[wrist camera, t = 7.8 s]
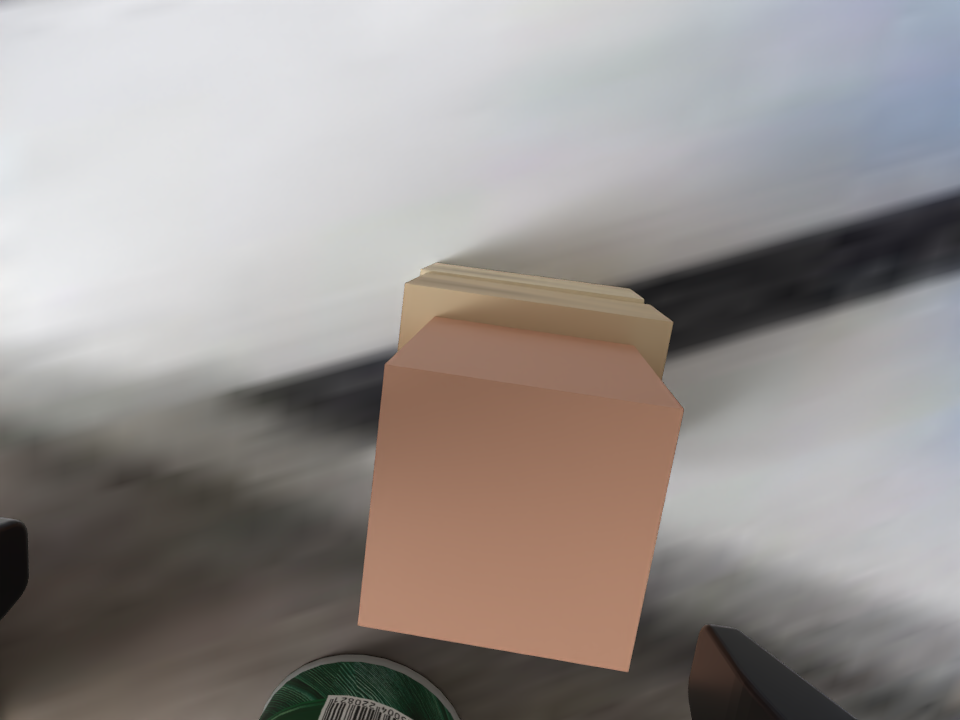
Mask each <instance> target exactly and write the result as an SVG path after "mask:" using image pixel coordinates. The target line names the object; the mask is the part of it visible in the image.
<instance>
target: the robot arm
mask: <svg viewBox="0 0 960 720" xmlns="http://www.w3.org/2000/svg"><path fill="white" fill-rule="evenodd" d="M28 578H29V564H28V533H27V528H26V526H25V524H24V523H22V522H21V521H20V520H16V519H10V518H3V517H0V621H1V619H2V618H3V617H4V616H5V615H6V613H7V612H8V611H9V610H10V609H11V608H12V606H13V605H14V604H15V603H16V602H17V600H18V599H19V598H20V597H21V595H22V594H23V592H24V590H25V588H26V586H27V583H28ZM688 697H689V705H690V711H691V717H692V720H857V719H856V718H855V717H853V716H852V715H851V714H849V713H848V712H847V711H845V710H844V709H843V708H841V707H840V706H839V705H837V704H836V703H835V702H833V701H832V700H831V699H829V698H828V697H827V696H825V695H824V694H823V693H822V692H820V691H819V690H818V689H816V688H815V687H814V686H812V685H811V684H810V683H808V682H807V681H806V680H804V679H803V678H802V677H800V676H799V675H798V674H796V673H795V672H794V671H792V670H791V669H790V668H788V667H787V666H786V665H784V664H783V663H782V662H781V661H779V660H778V659H777V658H775V657H774V656H773V655H771V654H770V653H769V652H767V651H766V650H765V649H763V648H762V647H761V646H759V645H758V644H757V643H755V642H754V641H753V640H751V639H750V638H749V637H747V636H746V635H745V634H743V633H742V632H741V631H740V630H738V629H736V628H733V627H726V626H719V625H713V624H706V625H704V626H703V627H702V629H701V631H700V633H699V636H698V641H697V645H696V650H695V654H694V659H693V664H692V668H691V673H690V677H689V685H688Z"/></svg>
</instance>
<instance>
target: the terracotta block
mask: <svg viewBox="0 0 960 720" xmlns="http://www.w3.org/2000/svg"><path fill="white" fill-rule="evenodd" d="M683 412H684V409H683V407H682V406H681V405H680V404H679V402H678V401H677V400H676V399H675V397H674V396H673V395H672V393H671V392H670V391H669V390H668V388H667V387H666V386H665V384H664V383H663V382H662V381H661V379H660V378H659V377H658V376H657V374H656V373H655V372H654V370H653V369H652V368H651V367H650V365H649V364H648V363H647V362H646V360H645V359H644V358H643V356H642V355H641V354H640V353H639V351H638V350H637V349H636V347H635V346H634V345H627V344H620V343H613V342H607V341H600V340H593V339H586V338H579V337H572V336H566V335H559V334H552V333H545V332H538V331H531V330H525V329H518V328H511V327H504V326H497V325H490V324H484V323H477V322H470V321H463V320H456V319H449V318H443V317H436V316H434V317H433V318H432V319H431V320H430V321H429V322H428V323H427V324H426V325H425V326H424V327H423V328H422V329H421V330H420V331H419V332H418V333H417V334H416V335H415V336H414V337H413V338H412V339H411V340H410V341H409V342H408V343H406V344H405V345H404V346H403V347H402V348H401V349H400V350H399V351H398V352H397V353H396V354H395V355H394V356H393V357H392V358H391V359H390V360H389V361H388V362H387V363H386V364H385V368H384V378H383V388H382V397H381V407H380V416H379V426H378V435H377V445H376V455H375V464H374V474H373V483H372V493H371V503H370V512H369V522H368V531H367V541H366V550H365V560H364V570H363V579H362V589H361V598H360V608H359V617H358V626H363V627H369V628H375V629H381V630H387V631H392V632H398V633H404V634H410V635H416V636H421V637H427V638H433V639H439V640H445V641H450V642H456V643H462V644H468V645H474V646H479V647H485V648H491V649H497V650H503V651H508V652H514V653H520V654H526V655H532V656H537V657H543V658H549V659H555V660H561V661H566V662H572V663H578V664H584V665H590V666H595V667H601V668H607V669H613V670H619V671H624V672H628V671H629V666H630V661H631V657H632V652H633V647H634V643H635V638H636V633H637V628H638V624H639V619H640V614H641V610H642V605H643V600H644V595H645V591H646V586H647V581H648V577H649V572H650V567H651V562H652V558H653V553H654V548H655V544H656V539H657V534H658V529H659V525H660V520H661V515H662V511H663V506H664V501H665V496H666V492H667V487H668V482H669V478H670V473H671V468H672V463H673V459H674V454H675V449H676V445H677V440H678V435H679V430H680V426H681V421H682V416H683Z"/></svg>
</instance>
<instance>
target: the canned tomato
mask: <svg viewBox="0 0 960 720" xmlns="http://www.w3.org/2000/svg"><path fill="white" fill-rule="evenodd" d="M259 720H460V719H459V717H458V715H457V713H456V711H455V709H454V707H453V706H452V705H451V703H450V702H449V701H448V700H447V698H446V697H445V696H444V695H443V694H442V692H441V691H440V690H439V689H438V688H436V687H435V686H434V685H433V684H432V683H430V682H429V681H428V680H427V679H426V678H425V677H423V676H421V675H420V674H418V673H416V672H414V671H413V670H411V669H409V668H408V667H406V666H403V665H401V664H398V663H395V662H392V661H390V660H387V659H383V658H378V657H373V656H368V655H338V656H332V657H326V658H322V659H319V660H317V661H314V662H311V663H309V664H306V665H304V666H302V667H301V668H299V669H298V670H296V671H294V672H293V673H291V674H290V675H288V676H287V677H286V678H285V679H284V680H283V681H282V682H281V683H280V684H279V685H278V686H277V687H276V689H275V690H274V691H273V693H272V695H271V696H270V698H269V700H268V701H267V703H266V704H265V707H264V710H263V713H262V715H261V717H260V719H259Z"/></svg>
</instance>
